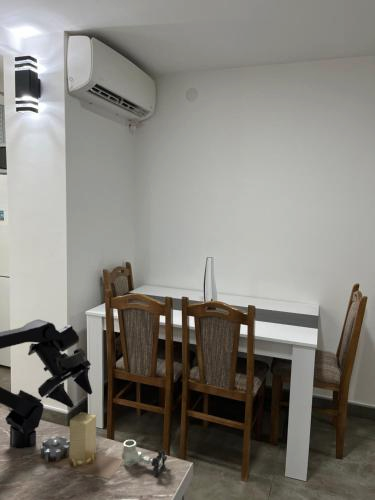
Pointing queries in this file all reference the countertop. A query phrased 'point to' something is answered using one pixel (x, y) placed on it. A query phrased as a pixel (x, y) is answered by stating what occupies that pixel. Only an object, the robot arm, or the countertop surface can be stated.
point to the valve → (142, 457)
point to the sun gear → (55, 449)
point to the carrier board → (91, 465)
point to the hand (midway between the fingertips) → (82, 400)
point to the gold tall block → (82, 440)
